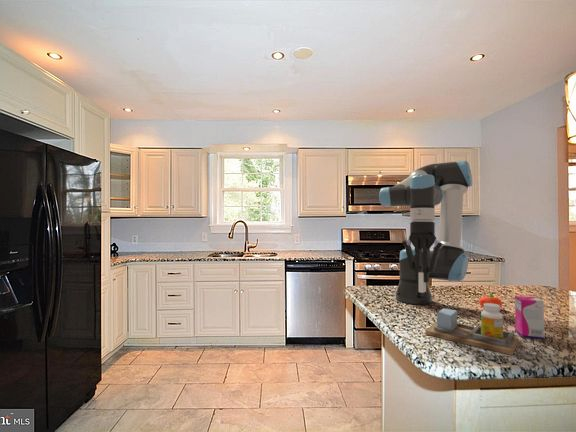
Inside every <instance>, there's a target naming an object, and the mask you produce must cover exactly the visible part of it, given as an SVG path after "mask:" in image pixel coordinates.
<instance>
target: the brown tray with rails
mask: <svg viewBox="0 0 576 432" xmlns="http://www.w3.org/2000/svg"><path fill="white" fill-rule="evenodd" d="M425 335H427V336H431V337H435V338H439V339H443V338H444V340H447V339H448V341H451V340H452V342H455V341H456V343H459V342H460V344H465V345H467V346H468V345H469V346H473V347H476V348H481V349H485V350H489V351H494V352H498V353H500V354H507V355H510V356H513V355H514V353H515V350H516V348H517V345H518V342H519V336H515V332H513V331H512V332H511V331H506V330H503V339H498V338H493V337H489V336H484V335H481V325H477V324H476V325H474V326H473V325H471V324H470V325H468V324H465V323H460V322H457V327H456V328H455V329H454V330H453V331H452V330H447V329H443V328H438V327H437V321H436V322H434V323H433V324H432V325H430V326H429V327H428V328H427V329H425Z"/></svg>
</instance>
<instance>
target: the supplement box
mask: <svg viewBox="0 0 576 432" xmlns="http://www.w3.org/2000/svg"><path fill="white" fill-rule="evenodd" d="M544 303H545V302H544V300H542V299H540V298H538V297H536V296H526V295H525V296H523V295H522V296H521V295H514V311H515V312H514V314H515V315H514V317H515V319H514V320H515V332H517V334H519V335H520V336H521V337H522V338H527V339H540V340H545V337H546V336H545V335H546V334H545V309H544V308H545V307H544V306H545V305H544Z"/></svg>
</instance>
